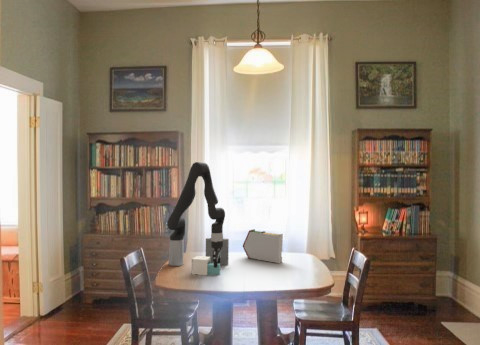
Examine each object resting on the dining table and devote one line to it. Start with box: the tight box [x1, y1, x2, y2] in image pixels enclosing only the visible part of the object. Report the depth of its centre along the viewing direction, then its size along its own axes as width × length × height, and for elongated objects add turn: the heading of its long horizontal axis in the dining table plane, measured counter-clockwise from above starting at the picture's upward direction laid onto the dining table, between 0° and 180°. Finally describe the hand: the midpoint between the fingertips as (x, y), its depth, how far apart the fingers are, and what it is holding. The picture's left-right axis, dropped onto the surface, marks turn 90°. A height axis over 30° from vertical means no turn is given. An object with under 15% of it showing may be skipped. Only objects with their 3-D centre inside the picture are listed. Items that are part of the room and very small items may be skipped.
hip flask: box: [205, 237, 230, 266], centre depth 242 cm, size 16×4×20 cm, turn 86°
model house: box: [242, 229, 284, 264], centre depth 257 cm, size 21×9×30 cm
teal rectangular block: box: [207, 263, 221, 276], centre depth 220 cm, size 14×4×6 cm, turn 91°
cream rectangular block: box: [191, 255, 210, 276], centre depth 221 cm, size 10×8×10 cm
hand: (217, 265), depth 219 cm, fingers open, 8 cm apart
